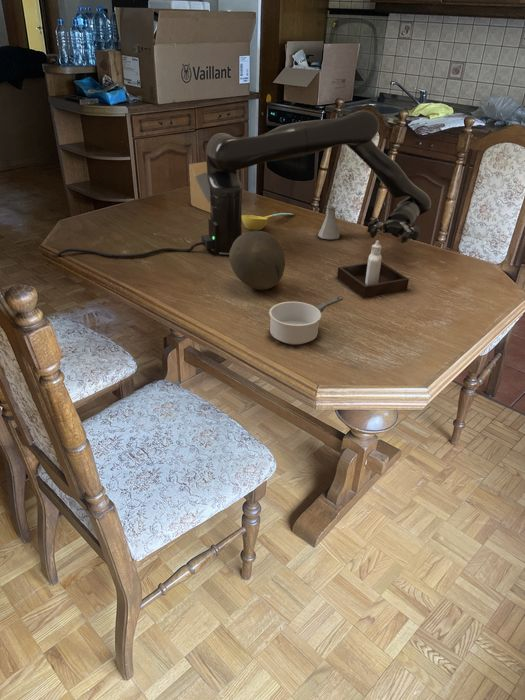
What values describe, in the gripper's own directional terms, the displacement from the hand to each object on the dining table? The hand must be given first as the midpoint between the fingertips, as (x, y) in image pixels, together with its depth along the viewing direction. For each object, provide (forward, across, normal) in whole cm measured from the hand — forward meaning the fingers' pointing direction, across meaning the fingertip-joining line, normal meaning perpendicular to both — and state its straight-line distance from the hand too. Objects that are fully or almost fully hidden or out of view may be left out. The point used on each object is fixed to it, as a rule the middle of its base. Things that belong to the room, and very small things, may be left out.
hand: (387, 236), depth 149 cm
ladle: (-20, -45, +10) cm, 51 cm away
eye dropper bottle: (+11, 0, +10) cm, 15 cm away
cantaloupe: (+28, -26, +10) cm, 40 cm away
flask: (-19, -23, +10) cm, 32 cm away
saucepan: (+43, -6, +10) cm, 44 cm away
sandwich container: (-26, -72, +10) cm, 77 cm away
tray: (+11, 0, +10) cm, 15 cm away
